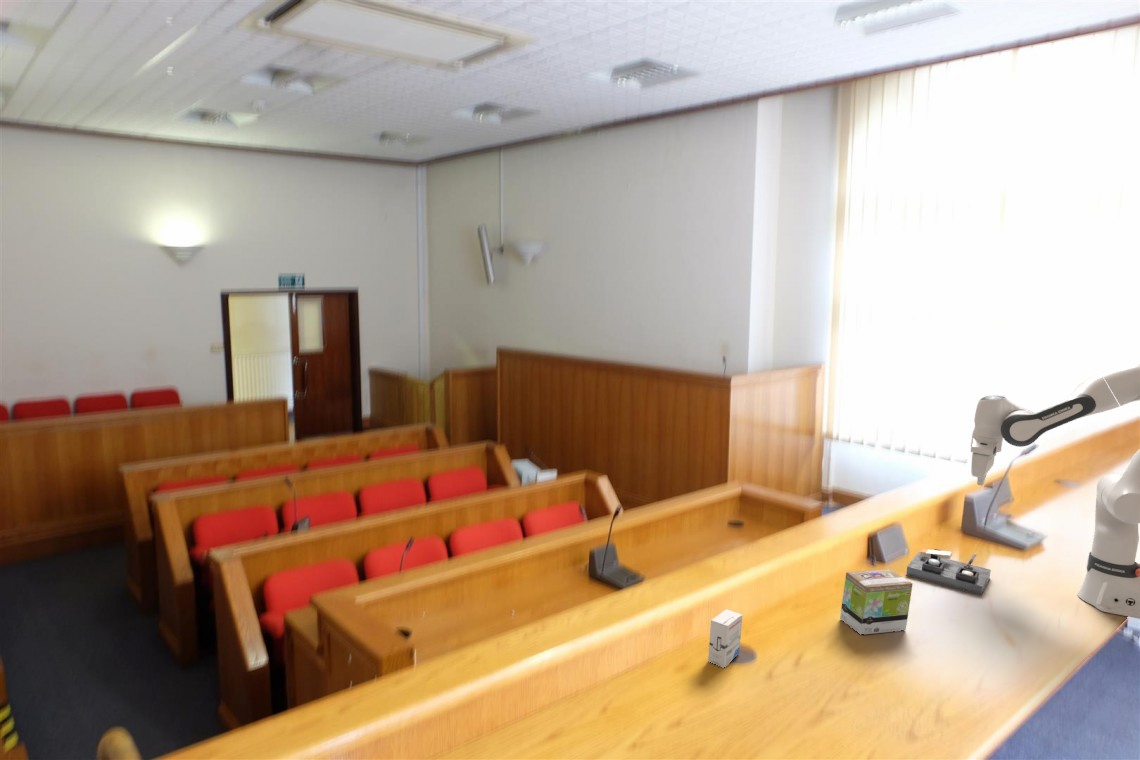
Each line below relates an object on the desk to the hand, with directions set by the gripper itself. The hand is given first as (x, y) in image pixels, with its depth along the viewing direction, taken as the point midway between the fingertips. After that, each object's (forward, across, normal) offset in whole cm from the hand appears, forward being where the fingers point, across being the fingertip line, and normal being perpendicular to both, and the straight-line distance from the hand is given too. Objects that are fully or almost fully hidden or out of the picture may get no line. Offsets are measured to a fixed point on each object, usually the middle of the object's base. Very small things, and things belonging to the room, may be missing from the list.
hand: (980, 484), depth 253 cm
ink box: (+30, +108, -39) cm, 118 cm away
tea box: (+30, +64, -14) cm, 72 cm away
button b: (+25, +18, -8) cm, 31 cm away
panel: (+29, +14, -4) cm, 32 cm away
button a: (+26, +18, +2) cm, 31 cm away
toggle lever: (+25, +10, +1) cm, 27 cm away
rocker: (+26, +10, -9) cm, 29 cm away
